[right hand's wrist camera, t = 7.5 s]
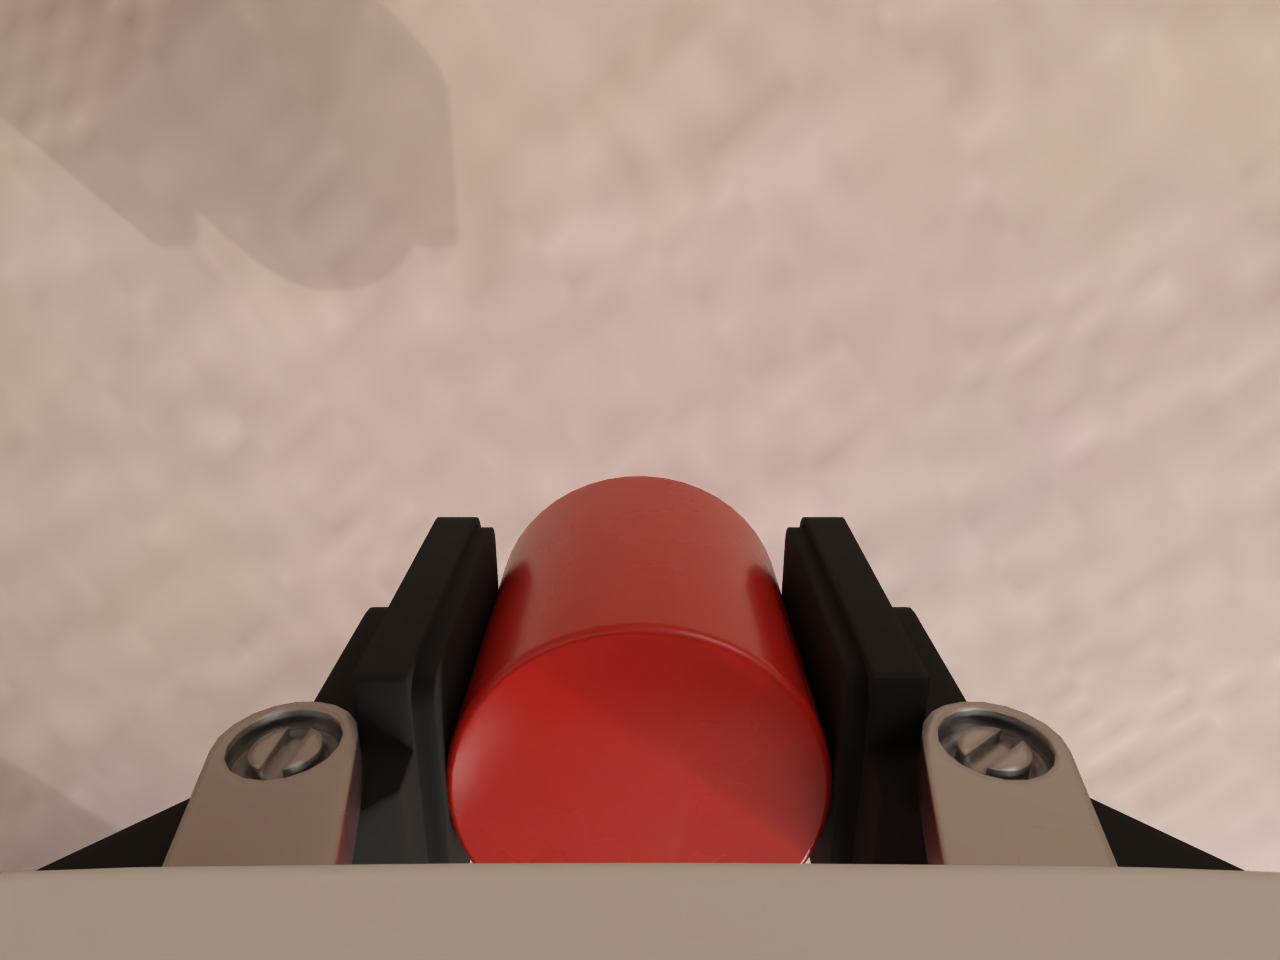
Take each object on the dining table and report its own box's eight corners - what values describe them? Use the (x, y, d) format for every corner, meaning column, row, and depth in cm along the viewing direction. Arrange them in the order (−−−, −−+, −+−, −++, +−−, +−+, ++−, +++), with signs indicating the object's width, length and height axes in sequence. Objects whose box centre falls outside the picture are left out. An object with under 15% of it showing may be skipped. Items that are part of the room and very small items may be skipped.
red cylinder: (701, 425, 12) (730, 558, 8) (819, 652, 13) (894, 862, 9) (449, 549, 12) (366, 728, 9) (585, 754, 14) (564, 990, 10)
